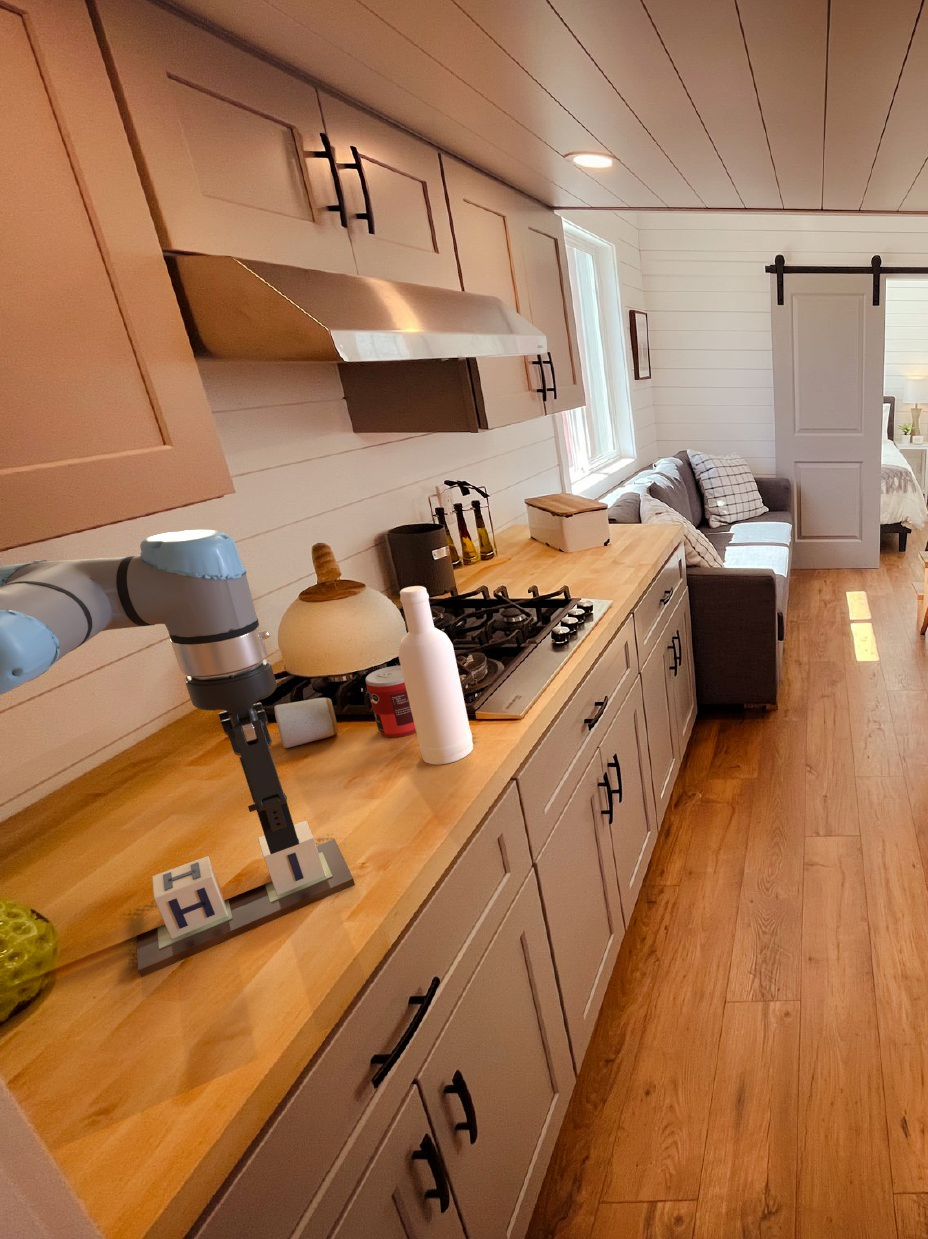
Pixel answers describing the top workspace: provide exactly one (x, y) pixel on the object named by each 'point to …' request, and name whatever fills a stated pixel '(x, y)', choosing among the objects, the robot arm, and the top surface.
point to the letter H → (189, 897)
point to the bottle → (432, 683)
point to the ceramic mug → (305, 721)
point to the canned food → (390, 702)
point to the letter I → (294, 861)
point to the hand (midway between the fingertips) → (275, 821)
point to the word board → (244, 914)
